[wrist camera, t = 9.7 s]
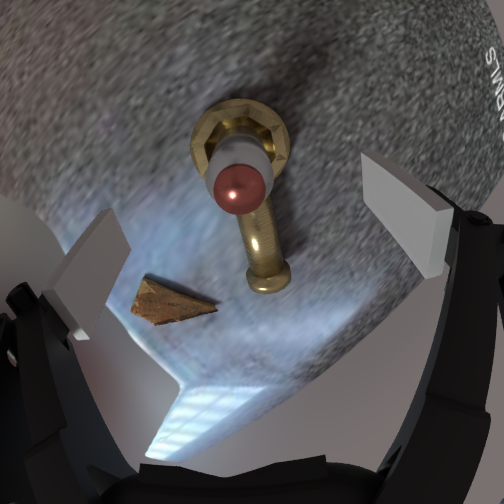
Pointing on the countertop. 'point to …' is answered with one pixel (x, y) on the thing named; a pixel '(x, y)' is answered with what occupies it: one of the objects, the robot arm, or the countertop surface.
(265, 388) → the countertop surface
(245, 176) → the red-capped grey tube
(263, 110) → the fitting
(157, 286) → the shard
